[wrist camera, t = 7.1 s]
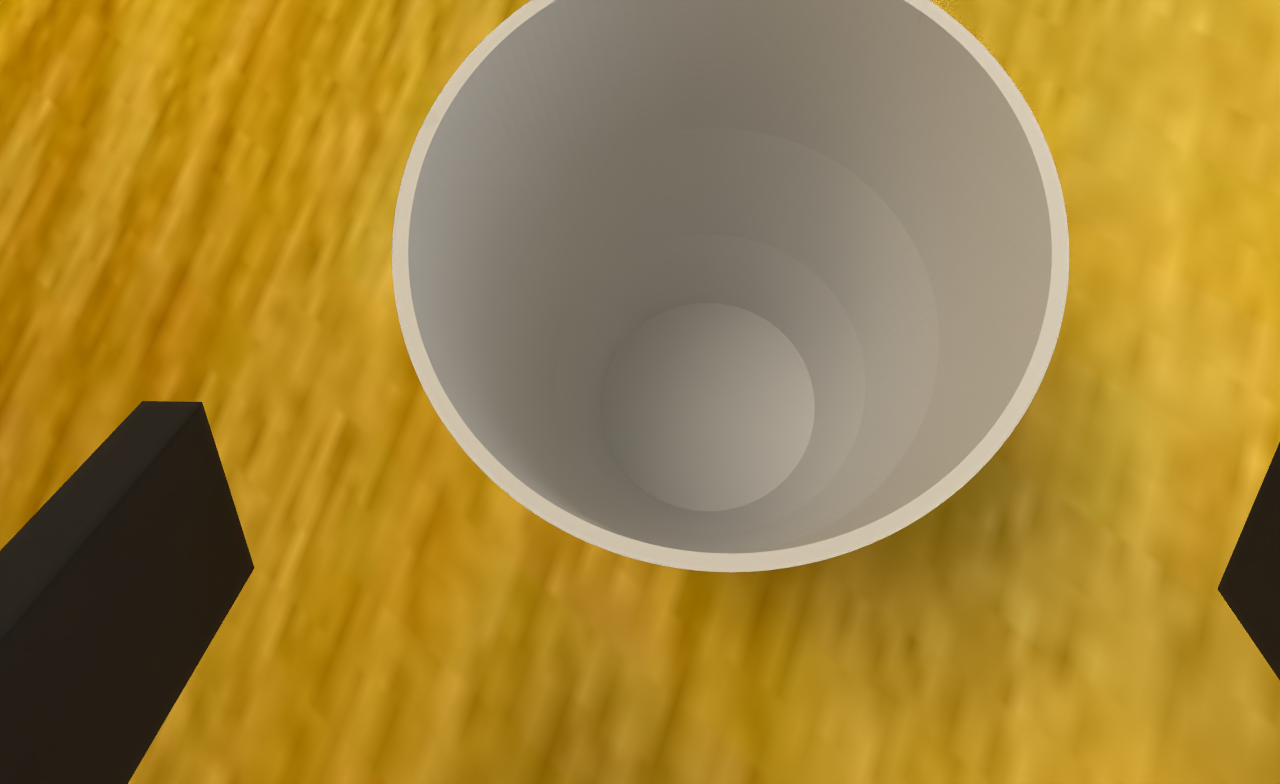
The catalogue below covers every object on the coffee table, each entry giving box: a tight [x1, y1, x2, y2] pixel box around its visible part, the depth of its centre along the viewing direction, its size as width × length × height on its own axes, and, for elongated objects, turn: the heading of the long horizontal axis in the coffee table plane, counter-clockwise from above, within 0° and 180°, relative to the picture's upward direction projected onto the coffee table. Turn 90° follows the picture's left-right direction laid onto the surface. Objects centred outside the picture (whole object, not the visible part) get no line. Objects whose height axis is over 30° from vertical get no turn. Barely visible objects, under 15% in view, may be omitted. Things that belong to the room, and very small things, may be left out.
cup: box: [392, 0, 1069, 572], centre depth 16 cm, size 8×8×10 cm
